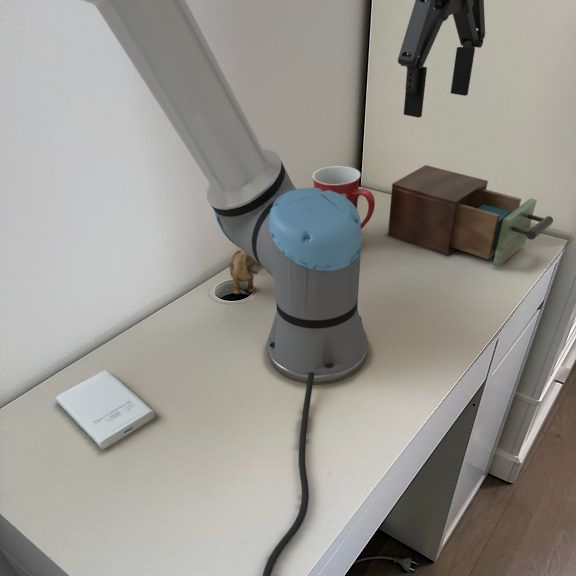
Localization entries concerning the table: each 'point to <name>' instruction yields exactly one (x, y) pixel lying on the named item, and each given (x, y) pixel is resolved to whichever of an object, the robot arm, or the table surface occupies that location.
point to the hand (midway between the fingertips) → (436, 104)
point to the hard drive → (105, 408)
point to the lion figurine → (243, 270)
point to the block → (502, 215)
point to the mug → (344, 185)
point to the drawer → (495, 225)
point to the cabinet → (429, 206)
